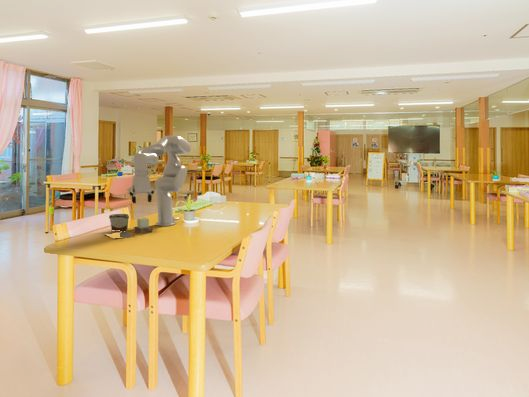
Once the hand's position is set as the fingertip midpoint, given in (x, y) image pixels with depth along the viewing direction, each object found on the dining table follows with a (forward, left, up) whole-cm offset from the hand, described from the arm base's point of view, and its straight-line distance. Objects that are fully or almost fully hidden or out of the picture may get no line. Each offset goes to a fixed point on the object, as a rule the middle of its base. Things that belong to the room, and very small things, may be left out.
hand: (141, 202), depth 234 cm
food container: (+8, -14, -18) cm, 24 cm away
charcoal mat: (+15, 0, -18) cm, 23 cm away
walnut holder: (0, 0, -18) cm, 18 cm away
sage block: (0, 0, -18) cm, 18 cm away
